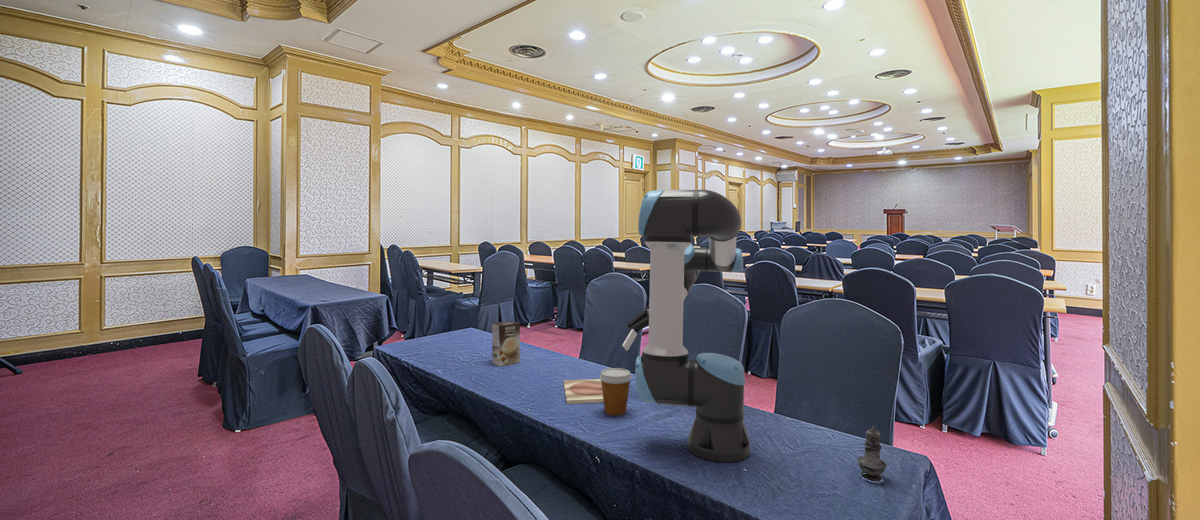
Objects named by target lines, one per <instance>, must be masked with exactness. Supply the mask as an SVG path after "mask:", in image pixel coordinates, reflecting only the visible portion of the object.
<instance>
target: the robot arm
mask: <svg viewBox="0 0 1200 520" xmlns="http://www.w3.org/2000/svg"><path fill="white" fill-rule="evenodd" d="M741 225H742V217H741V214H740V211H739V209H738V208H737V207H736V206H735V204H734V203H733V202H732V201H731V200H730V199H728V198H727V197H726V196H724V195H722V194H721V193H718V192H716V191H713V190H708V189H656V190H650V191H647V192H646V193H645V195H643V198H642V201H641V204H640V209H639V215H638V230H637V231H638V234H639V236H640V237H644V244H645V245H646V246H647V248H648V249H649V250H650V257H649V258H650V260H649V262H650V264H649V266H650V267H649V301H648V303H649V305H646V307H645V308H644V310H642V311H641V312H640V313H639V314H638V315H637V316H636V317H634V318H633V319H632V320H631V321H629V322H628V323H627V325H626V326H627V328H628V329H629V330H628V332H627V334H626V337H625V339H624V342H623V343H622V345H621V346H622V347H623V349H625V351H629V349H630V348H631V346H632V344H633V343H634V341H635V340H636V337H637V335H638V332H640V331H641V330H643V329H645V328H647V327H648V343H647V344H646V346H644V348H642V354H640V355H637V357H636V359H635V372H634V373H635V375H634V376H635V377H634V378H635V384H636V389H637V394H638V396H639V398H640V399H641V401H643V402H645V403H650V404H656V405H667V406H669V405H670V406H678V407H679V406H681V407H692V408H695V417H694V421H693V423H692V427H691V429H690V432H689V435H688V439H687V447H688V448H687V449H688V450H689V451H690V452H691V453H692V454H693V455H695V456H696V457H698V458H701V459H704V460H706V461H713V462H717V463H718V462H719V463H732V462H739V461H742V460H745V459H746V458H747V457H749V455H750V454H751V453H750V452H751V442H750V441H751V440H750V438H749V435H748V433H747V432H748V431H747V428H746V425H745V422H744V416H745V415H744V409H745V408H744V407H745V406H744V405H745V385H746V379H745V367H744V366H743V364H742V362H740V361H739V360H737V359H735V358H734V357H731V356H728V355H725V354H720V353H714V352H702V353H701V352H700V353H699V354H697V355H696V357H695V359H691V358H689V351H688V349H687V348H686V347H685V346H684V344H683V342H684V341H683V337H684V335H683V334H684V331H683V330H684V329H683V328H684V321H683V320H684V301H685V299H686V297H687V296H688V295H689V292H690V291H691V289H692V288H693V285H694V283H695V282H696V280H697V278H698V277H699V275H700V272H715V273H739V272H741V271H742V267H743V265H742V263H743V250H742V249H741V248H739V247H738V248H737V235H738V234H739V233H740V230H741ZM692 237H696V238H697V237H708V244H709V245H708V246H709V247H694V245H693V244H692Z"/></svg>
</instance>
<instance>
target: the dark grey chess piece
mask: <svg viewBox="0 0 1200 520" xmlns="http://www.w3.org/2000/svg"><path fill="white" fill-rule="evenodd" d="M865 433H866V434H865V442H864V443H863V446H864V455H862V456H859V457H858V458H857V463H858V466H859V468H860V470H861V471H860V472H861V473H860V472H859V473H860V474H861V475H862V477H864V478H866V479H868V480H871V481H880V480H881V479H882V477H883V476H882V474H883V473H884V472H885V470H886V468H887V465H888V464H887V463H886V462H885V461H884V460H882V459H881V455H880V454H881V449H882V448H883V447H882V445H881V433H880V431H879V430H878V429H876V426H875V425H872V426H871V428H869V429H867V430H866V432H865ZM862 473H866V474H862ZM880 475H881V476H880Z"/></svg>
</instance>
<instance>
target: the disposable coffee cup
mask: <svg viewBox="0 0 1200 520" xmlns="http://www.w3.org/2000/svg"><path fill="white" fill-rule="evenodd" d="M599 379H601V383H602V391H603V400H604V403H603V406H604V413H605V414H607V415H610V416H621V415H625V414H626V412H627V406H628V399H629V391H630V385H631V383H630V382H631V379H632V374H631V371H630V370H628V369H625V368H621V367H612V368H605V369H603V370H601V371H600V375H599Z"/></svg>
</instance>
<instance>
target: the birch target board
mask: <svg viewBox="0 0 1200 520" xmlns="http://www.w3.org/2000/svg"><path fill="white" fill-rule="evenodd" d="M563 389H564V394H565V402H566V404H567V405H574V404H576V405H577V404H596V403H597V404H599V403H600V404H601V403H603V404H604V400H603V391H602V383H601V379H600V378H594V379H593V378H592V379H587V378H586V379H565V380H563Z"/></svg>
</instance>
